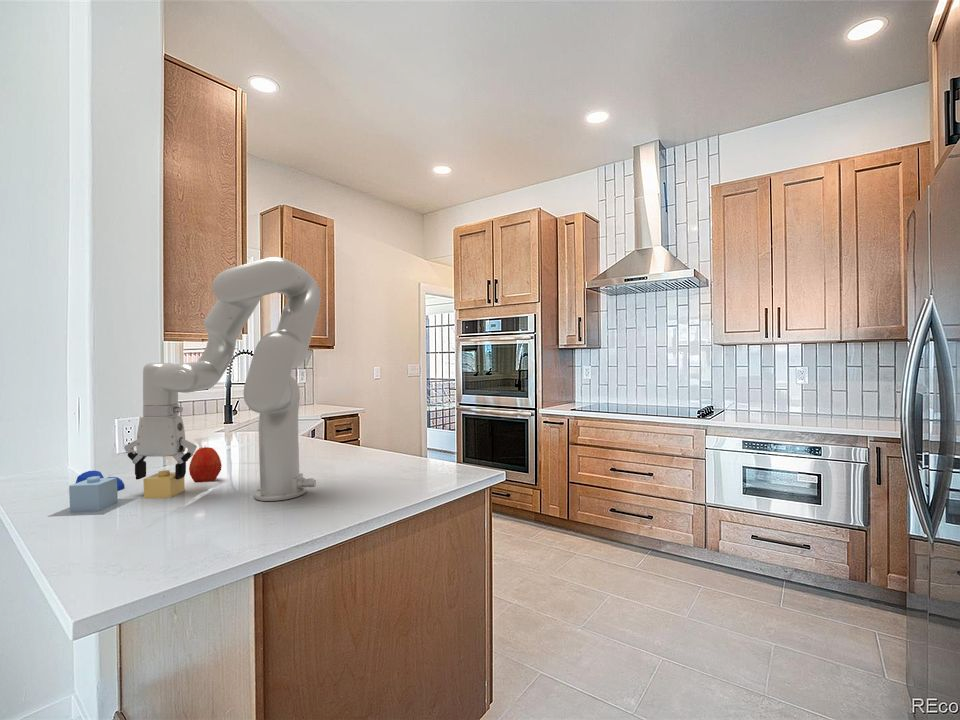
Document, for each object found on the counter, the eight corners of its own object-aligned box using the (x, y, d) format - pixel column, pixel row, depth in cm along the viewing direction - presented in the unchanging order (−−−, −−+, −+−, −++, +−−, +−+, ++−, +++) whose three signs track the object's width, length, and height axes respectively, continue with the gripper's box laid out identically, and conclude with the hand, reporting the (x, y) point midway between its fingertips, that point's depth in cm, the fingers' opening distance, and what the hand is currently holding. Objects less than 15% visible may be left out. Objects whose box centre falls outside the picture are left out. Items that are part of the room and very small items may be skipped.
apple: (228, 481, 143) (227, 444, 143) (199, 488, 136) (197, 449, 136) (212, 477, 147) (211, 441, 147) (183, 484, 140) (182, 446, 140)
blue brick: (117, 502, 120) (116, 473, 120) (99, 510, 114) (97, 480, 114) (90, 503, 120) (89, 474, 120) (70, 511, 113) (68, 481, 113)
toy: (71, 496, 133) (103, 500, 127) (69, 473, 133) (102, 475, 127) (99, 489, 140) (131, 492, 133) (98, 467, 140) (130, 469, 133)
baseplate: (137, 503, 123) (136, 494, 123) (103, 519, 111) (103, 509, 111) (87, 504, 123) (86, 496, 122) (47, 521, 111) (47, 511, 110)
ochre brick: (184, 494, 130) (183, 468, 130) (170, 502, 123) (169, 474, 123) (159, 495, 129) (158, 468, 129) (144, 503, 123) (143, 475, 123)
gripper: (203, 409, 130) (202, 474, 131) (134, 409, 129) (134, 474, 130) (187, 413, 123) (187, 482, 123) (115, 413, 122) (115, 482, 122)
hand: (160, 478), depth 126 cm, fingers open, 9 cm apart
